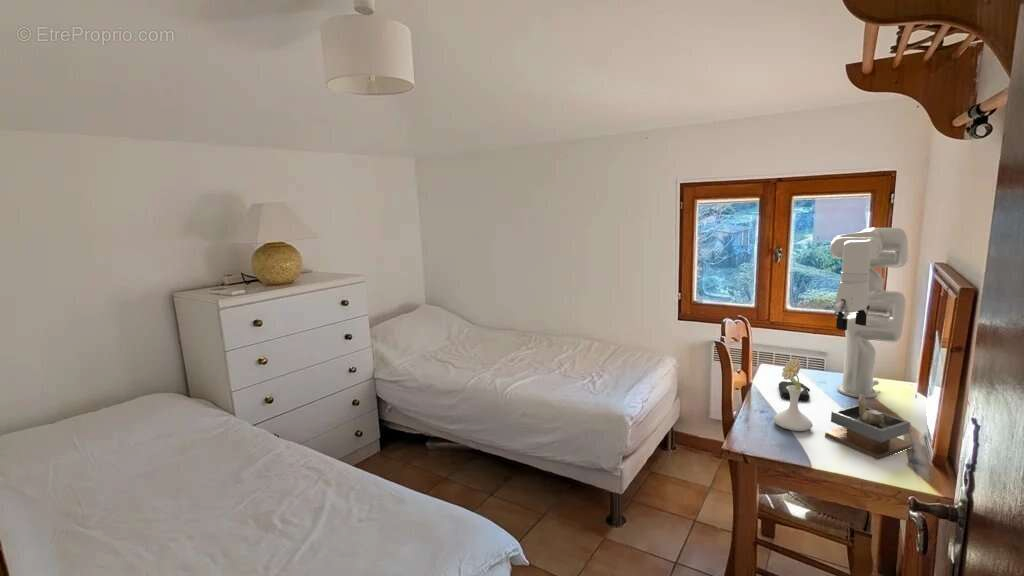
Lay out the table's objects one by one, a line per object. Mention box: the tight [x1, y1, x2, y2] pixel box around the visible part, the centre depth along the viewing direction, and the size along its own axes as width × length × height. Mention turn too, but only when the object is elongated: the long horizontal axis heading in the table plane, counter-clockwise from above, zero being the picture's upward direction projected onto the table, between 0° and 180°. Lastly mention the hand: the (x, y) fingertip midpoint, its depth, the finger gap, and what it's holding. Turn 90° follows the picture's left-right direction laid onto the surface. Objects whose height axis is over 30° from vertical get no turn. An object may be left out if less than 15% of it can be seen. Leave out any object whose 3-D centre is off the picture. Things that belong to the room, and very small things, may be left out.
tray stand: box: [824, 403, 914, 461], centre depth 149 cm, size 16×16×8 cm
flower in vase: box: [773, 358, 814, 432], centre depth 158 cm, size 13×11×25 cm
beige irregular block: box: [857, 395, 884, 424], centre depth 149 cm, size 9×6×10 cm
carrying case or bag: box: [778, 380, 811, 402], centre depth 188 cm, size 11×3×15 cm
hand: (851, 327), depth 161 cm, fingers open, 9 cm apart
